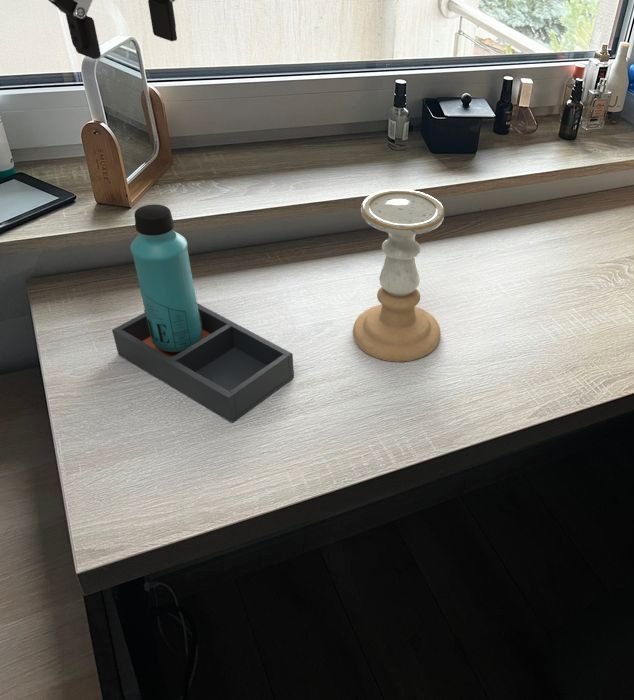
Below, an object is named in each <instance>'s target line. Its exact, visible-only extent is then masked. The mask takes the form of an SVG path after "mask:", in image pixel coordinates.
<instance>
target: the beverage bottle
mask: <svg viewBox="0 0 634 700" xmlns="http://www.w3.org/2000/svg"><path fill="white" fill-rule="evenodd" d="M134 227H135V230H136V232H138V233H139V234H138V235H137V236H136V237H135V238H134V239H133V240H132V241H131V244H130V252H131V254H132V258H133V263H134V266H135V267H134V268H135V275H136V278H137V283H138V286H137V288H139V290H140V295H141V299H142V305H143V308H144V309H143V312H144V313H146V317H147V322H146V324H148V326H147V328H149V330H148V331H150V333H149V335H151V338H150V339H151V340H152V341H151V342H152V343H153V344H154V345H155V346H156V347H157V348H158V349H160V350H163V351H167V352H179V351H183V350H185V349H187V348H188V347H190V346H192V345H193V344H195V343H197V342H198V341H200V339H201V336H202V329H201V328H202V327H201V325H202V324H200V323H201V322H200V321H201V320H200V318H201V317H200V318H199V315H200V313H199V312H200V311H199V312H198V305H197V303H198V300H197V299H198V297H197V292H196V288H195V284H194V279H193V274H192V268H191V261H190V256H189V251H188V241H187V239H186V238H185V236H184V235H182V234H180V233H178V232H176V231H174V230H173V229H174V228H175V221H174V219H173V216H172V212H171V209H170V208H169V207H167V206H166V205H163V204H158V203H157V204H154V203H153V204H146V205H142V206H140V207H139V208H137V209H136V210H135V211H134ZM145 319H146V318H145ZM149 337H150V336H149Z"/></svg>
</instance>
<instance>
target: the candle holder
mask: <svg viewBox="0 0 634 700" xmlns="http://www.w3.org/2000/svg"><path fill="white" fill-rule="evenodd" d="M360 212H361V213H360V214H361V216H362V218H363V221H364V222H366V223H367V224H368V225H369V226H371V227H372V228H374V229H376V230H379V231H380V232H384V233H387V234H388V238H386V239H385V240H384V241H383V242H382V244H381V250H382V253H383V254H384V255H385V258H384V261H383V262H384V263H383V265H382V268H381V269H380V272H379V275H378V282H379V285H380V288H379V289H378V291H377V292H376V298H377V301H378V302H379V304H378V305H377V304H376V305H375V306H372V307H370V308H368V309H365V310H364V311H363V312H361V313H360V314H359V315H358V316H357V318H356V319H355V321H354V324H353V328H352V336H353V339H354V342H355V344H356V345H357V346H358V348H359V349H361V350H362V351H363V352H364V353H366V354H367V355H369V356H371V357H373V358H376V359H379V360H382V361H386V362H387V361H388V362H397V363H399V362H411V361H415V360H419V359H422V358H424V357H425V356H427V355H429V354H431V353H432V352H433V351H434V350H435V349H436V348H437V346H438V344H439V343H440V339H441V328H440V324H439V323H438V321H437V319H436V318H435V317H434V316H433V315H432V314H431V313H429V312H428V311H427V310H425V309H422V308H421V307H418V306H417V305H418V304H419V303H420V301H421V294H420V291H419V290H418V288H419V286H420V284H421V276H420V273H419V269H418V266H417V260H416V257H417V256H419V254H420V253H421V245H420V244H419V242H418V241H417V240H416V235H421V234H426V233H429V232H431V231H434V230H435V229H437V228H438V227H439V226H441V225H442V223H443V221H444V219H445V208H444V206H443V205H442V203H441V202H440V201H439V199H436V198H434V197H433V196H432V195H429V194H427V193H424V192H421V191H416V190H413V189H402V188H401V189H399V188H397V189H396V188H395V189H394V188H393V189H384V190H379V191H377V192H374V193H372V194H370V195H368V196H367V197H366V198H365V199H364V200H363V201H362V203H361V207H360Z"/></svg>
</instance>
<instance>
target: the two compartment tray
mask: <svg viewBox="0 0 634 700" xmlns="http://www.w3.org/2000/svg"><path fill="white" fill-rule="evenodd" d="M197 305H198V312H199V311H200V312H199V313H200V315H199V318H200V317H201V318H200V320H201V321H200V322H201V323H200V324H202V325H201V327H202V328H201V329H202V336H201V339H200V341H198V342H197V343H195V344H193V345H192V346H190V347H188V348H187V349H185V350H183V351H179V352H167V351H163V350H160V349H158V348H157V347H156V346H155V345H154V344H153V343H152V342H151V341H152V340H151V339H150V338H151V335H149V333H150V331H148V330H149V328H147V326H148V324H146V322H147V317H146V313H145V312H143V313H141V314H139V315H137V316H135V317H133V318H131V319H130V320H127V321H126V322H124V323H122V324H120V325H118V326H117V327H115V328H113V329H111V332H112V335H113V339H114V343H115V346H116V351H117V354H118V356H119V357H121V358H123V359H124V360H126V361H127V362H130V363H131V364H133V365H134V366H136V367H138V368H140V369H141V370H143V371H145V372H146V373H148V374H149V375H151V376H153V377H154V378H156V379H157V380H159V381H161V382H163V383H164V384H166V385H168V386H170V387H171V388H173V389H175V390H176V391H178V392H179V393H181V394H183V395H185V396H186V397H188V398H189V399H191V400H192V401H194V402H196V403H198V404H199V405H201V406H202V407H204V408H206V409H207V410H209V411H211V412H212V413H214V414H215V415H218V416H219V417H221V418H222V419H224V420H226V421H228V422H230V423H231V424H233V423H235V422H236V421H237V420H239V419H240V418H242V417H243V416H244V415H246V414H247V413H249V411H251V410H253V409H254V408H255V407H257V406H258V405H259V404H261V403H262V402H263V401H265V400H266V399H267V398H269V397H270V396H272V395H273V394H274V393H276V392H277V391H279V390H280V389H281V388H283V387H284V386H285V385H287V384H288V383H289V382H291V381H292V380H293V379H294V378H295V372H294V371H295V369H294V356H293V353H292V352H290V351H289V350H287V349H285V348H283V347H281V346H280V345H278V344H275V343H273V342H272V341H270V340H268V339H266V338H264V337H262V336H260V335H258V334H257V333H256V332H253V331H251V330H249V329H247V328H245V327H243V326H241V325H239V324H238V323H236V322H234V321H232V320H230V319H228V318H227V317H225V316H223V315H220V314H219V313H217V312H215V311H213V310H211V309H210V308H207V307H206V306H204V305H202V304H200V303H199V302H197ZM145 318H146V319H145ZM149 336H150V337H149Z"/></svg>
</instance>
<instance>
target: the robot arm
mask: <svg viewBox="0 0 634 700" xmlns="http://www.w3.org/2000/svg"><path fill="white" fill-rule="evenodd" d="M48 1H49V2H50V3H51V4H52V5H54V6H55V8H57V9H58V11H60V12H61V13H63V14H65V17H66V22H67V26H68V30H69V34H70V35H69V36H70V39H71V43H72V46H73V47H74V48H75V51H76V52H77V54H80V55H82V56H84V57H87V58H90V59H93V60H97V59H100V57H101V56H102V53H101V48H100V44H99V40H98V39H99V38H98V35H97V29H96V25H95V20H94V18H93V17H92V16H88V15H87V14H88V13H89V10H90V7H91V5H92V3H93V2H94V0H48ZM176 1H177V0H147V3H148V9H149V16H150V22H151V28H152V33H153V35H154V36H155V37H158V38H160V39H163V40H166V41H169V42H175V41H177V40H178V35H177V29H176V25H177V24H176V18H175V11H174V5H173V3H175V2H176Z"/></svg>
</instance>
